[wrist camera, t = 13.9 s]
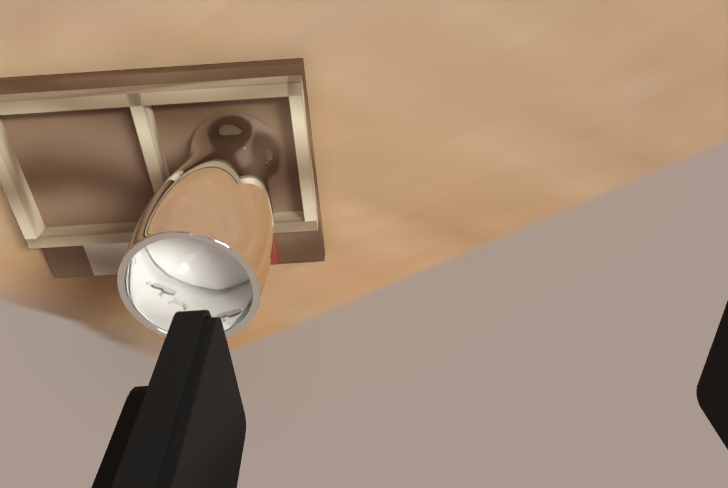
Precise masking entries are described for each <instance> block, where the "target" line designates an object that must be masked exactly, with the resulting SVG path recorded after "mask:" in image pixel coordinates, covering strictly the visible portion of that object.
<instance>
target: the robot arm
mask: <svg viewBox="0 0 728 488" xmlns="http://www.w3.org/2000/svg"><path fill="white" fill-rule="evenodd" d="M697 399H698V402H699V405H700V407H701V409H702V410H703V412H704V413H705V415H706V416H707V418H708V419H709V421H710V423H711V424H712V426H713V427H714V429H715V430H716V432H717V434H718V435H719V437H720V438H721V440H722V441H723V443H724V444H725V446H726V448H727V449H728V301H727V304H726V307H725V310H724V313H723V316H722V318H721V321H720V324H719V327H718V330H717V332H716V335H715V338H714V341H713V343H712V346H711V349H710V352H709V355H708V358H707V360H706V363H705V366H704V369H703V371H702V375H701V377H700V380H699V383H698V385H697ZM245 433H246V419H245V413H244V409H243V405H242V401H241V397H240V393H239V389H238V384H237V380H236V376H235V372H234V368H233V364H232V360H231V356H230V352H229V348H228V344H227V340H226V336H225V332H224V328H223V324H222V320H221V318H220V317H212V316H211V314H210V312H209V310H194V311H178V312H176V313H175V315H174V316H173V319H172V322H171V324H170V327H169V330H168V333H167V336H166V338H165V341H164V344H163V347H162V349H161V352H160V355H159V358H158V360H157V363H156V366H155V369H154V371H153V374H152V377H151V380H150V382H149V386H140V387H134V388H133V389H132V390H131V391H130V393H129V396H128V397H127V399H126V402H125V404H124V407H123V409H122V412H121V414H120V417H119V419H118V422H117V425H116V427H115V430H114V432H113V435H112V437H111V440H110V442H109V445H108V448H107V450H106V452H105V455H104V457H103V460H102V463H101V465H100V468H99V470H98V473H97V475H96V478H95V480H94V483H93V486H92V488H237V482H238V476H239V470H240V464H241V458H242V451H243V446H244V440H245Z"/></svg>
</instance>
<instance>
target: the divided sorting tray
mask: <svg viewBox="0 0 728 488" xmlns="http://www.w3.org/2000/svg"><path fill="white" fill-rule="evenodd" d="M228 112H235V113H242V114H246V115H250V116H252V117H254V118H256V119H258V120H260V121H261V122H263V123H264V124H265V125H266V126H267V127H268V128H269V129H270V130H271V131H272V132H273V133H274V135H275V136H276V138H277V140H278V142H279V145H280V148H281V153H282V164H281V169H280V172H279V174H278V176H277V178H276V180H275V182H274V183H273V185H272V186H271V188H270V191H271V198H272V205H273V212H274V227H275V238H274V246H273V254H272V259H271V263H270V265H273V264H286V263H302V262H317V261H324V260H325V249H324V240H323V231H322V222H321V213H320V204H319V196H318V187H317V178H316V169H315V160H314V151H313V142H312V133H311V124H310V116H309V107H308V98H307V89H306V80H305V71H304V62H303V58H296V59H281V60H265V61H250V62H235V63H220V64H205V65H189V66H174V67H159V68H144V69H128V70H113V71H98V72H83V73H68V74H52V75H37V76H22V77H7V78H0V183H1V186H2V188H3V190H4V192H5V195H6V197H7V199H8V201H9V204H10V206H11V208H12V211H13V213H14V215H15V217H16V220H17V222H18V224H19V226H20V229H21V231H22V233H23V235H24V238H25V240H26V242H27V245H28V247H29V249H35V248H42V250H43V253H44V255H45V257H46V260H47V262H48V264H49V267H50V269H51V271H52V274H53V276H54V278H65V277H81V276H100V275H115V274H118V269H119V266H120V263H121V261H122V259H123V257H124V256H125V253H126V250H127V247H128V245H129V242H130V239H131V237H132V234H133V232H134V229H135V227H136V225H137V223H138V221H139V219H140V217H141V214H142V212H143V211H144V209H145V207H146V206H147V204H148V203H149V201H150V199H151V198H152V196H153V195H154V193H155V192H156V191H157V190H158V189H159V188H160V187H161V185H162V184H163V183H164V182H165V181H166V180H167V179H168V178H169V177H170V176H171V175H172V174H173V173H174V172H175V171H176V170H177V169H179V168H180V167H181V166H182V165H183V164H184V163H185V162H186V161H187V160H188V159H189V151H190V144H191V140H192V137H193V135H194V133H195V131H196V130H197V128H198V127H199V126H200V125H201V124H202V123H203V122H204V121H206V120H207V119H209V118H210V117H212V116H215V115H217V114H221V113H228Z"/></svg>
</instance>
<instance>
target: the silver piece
mask: <svg viewBox="0 0 728 488" xmlns="http://www.w3.org/2000/svg"><path fill="white" fill-rule="evenodd" d="M281 164H282V153H281V148H280V145H279V142H278V140H277V138H276V136H275V135H274V133H273V132H272V131H271V130H270V129H269V128H268V127H267V126H266V125H265V124H264V123H263V122H261V121H260V120H258V119H256V118H254V117H252V116H250V115H246V114H242V113H235V112H228V113H221V114H217V115H215V116H212V117H210V118H209V119H207V120H206V121H204V122H203V123H202V124H201V125H200V126H199V127H198V128H197V130H196V131H195V133H194V135H193V137H192V140H191V144H190V151H189V159H188V160H187V161H186V162H185V163H184V164H183V165H182V166H181V167H180V168H179V169H177V170H176V171H175V172H174V173H173V174H172V175H171V176H170V177H169V178H168V179H167V180H166V181H165V182H164V183H163V184H162V185H161V187H160V188H159V189H158V190H157V191H156V192H155V193H154V195H153V196H152V198H151V199H150V201H149V203H148V204H147V206H146V207H145V209H144V211H143V212H142V214H141V217H140V219H139V221H138V223H137V225H136V227H135V229H134V232H133V234H132V237H131V239H130V242H129V245H128V247H127V250H126V253H125V256H124V257H123V259H122V261H121V263H120V266H119V269H118V274H117V286H118V291H119V294H120V297H121V299H122V301H123V303H124V305H125V307H126V308H127V310H128V311H129V312H130V313H131V315H132V316H133V317H134V318H135V319H136V320H137V321H138V322H140V323H141V324H142V325H144V326H145V327H146V328H148V329H149V330H151V331H153V332H155V333H157V334H159V335H161V336H164V337H166V336H167V333H168V330H169V327H170V324H171V322H172V319H173V316H174V315H175V313H176V312H178V311H194V310H209V312H210V314H211V316H212V317H220V318H221V320H222V324H223V328H224V332H225V336H226V338H228V337H230V336H232V335H234V334H236V333H238V332H239V331H241V330H242V329H243V328H244V327H246V326H247V325H248V324H249V322H250V321H251V320H252V319H253V317H254V315H255V314H256V311H257V309H258V306H259V302H260V297H261V294H262V291H263V288H264V285H265V281H266V278H267V275H268V271H269V267H270V263H271V259H272V254H273V246H274V238H275V227H274V212H273V205H272V198H271V191H270V188H271V186H272V185H273V183H274V182H275V180H276V178H277V176H278V174H279V172H280V169H281Z"/></svg>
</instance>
